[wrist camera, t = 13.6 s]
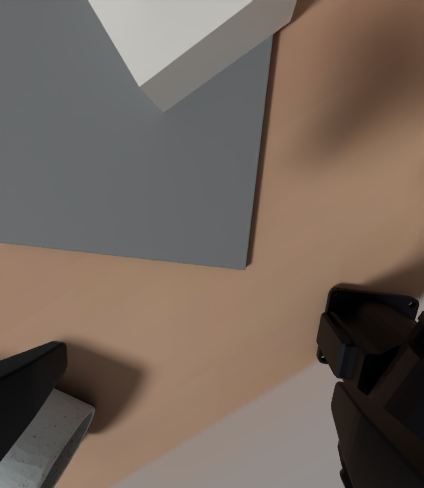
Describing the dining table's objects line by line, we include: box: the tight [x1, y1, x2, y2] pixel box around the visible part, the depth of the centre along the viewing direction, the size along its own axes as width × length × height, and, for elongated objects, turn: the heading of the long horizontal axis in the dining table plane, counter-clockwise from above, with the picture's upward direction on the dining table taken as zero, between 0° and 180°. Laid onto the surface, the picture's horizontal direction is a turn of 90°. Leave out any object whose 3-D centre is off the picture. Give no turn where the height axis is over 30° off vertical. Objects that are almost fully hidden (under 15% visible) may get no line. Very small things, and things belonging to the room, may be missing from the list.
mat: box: [0, 0, 273, 270], centre depth 18 cm, size 21×23×1 cm
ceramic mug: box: [0, 388, 95, 488], centre depth 22 cm, size 11×8×8 cm
